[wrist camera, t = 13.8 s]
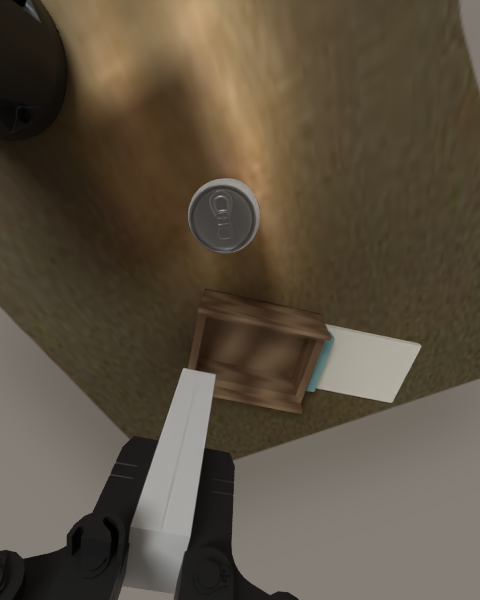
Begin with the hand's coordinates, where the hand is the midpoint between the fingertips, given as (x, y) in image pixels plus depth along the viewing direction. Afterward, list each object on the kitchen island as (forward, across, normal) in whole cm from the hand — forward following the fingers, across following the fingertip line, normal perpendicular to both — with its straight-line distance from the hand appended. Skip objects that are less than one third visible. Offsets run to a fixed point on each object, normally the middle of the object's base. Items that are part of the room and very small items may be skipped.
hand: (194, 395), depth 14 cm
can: (+27, -1, +6) cm, 27 cm away
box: (+26, +6, -11) cm, 29 cm away
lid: (+27, +22, -12) cm, 36 cm away
